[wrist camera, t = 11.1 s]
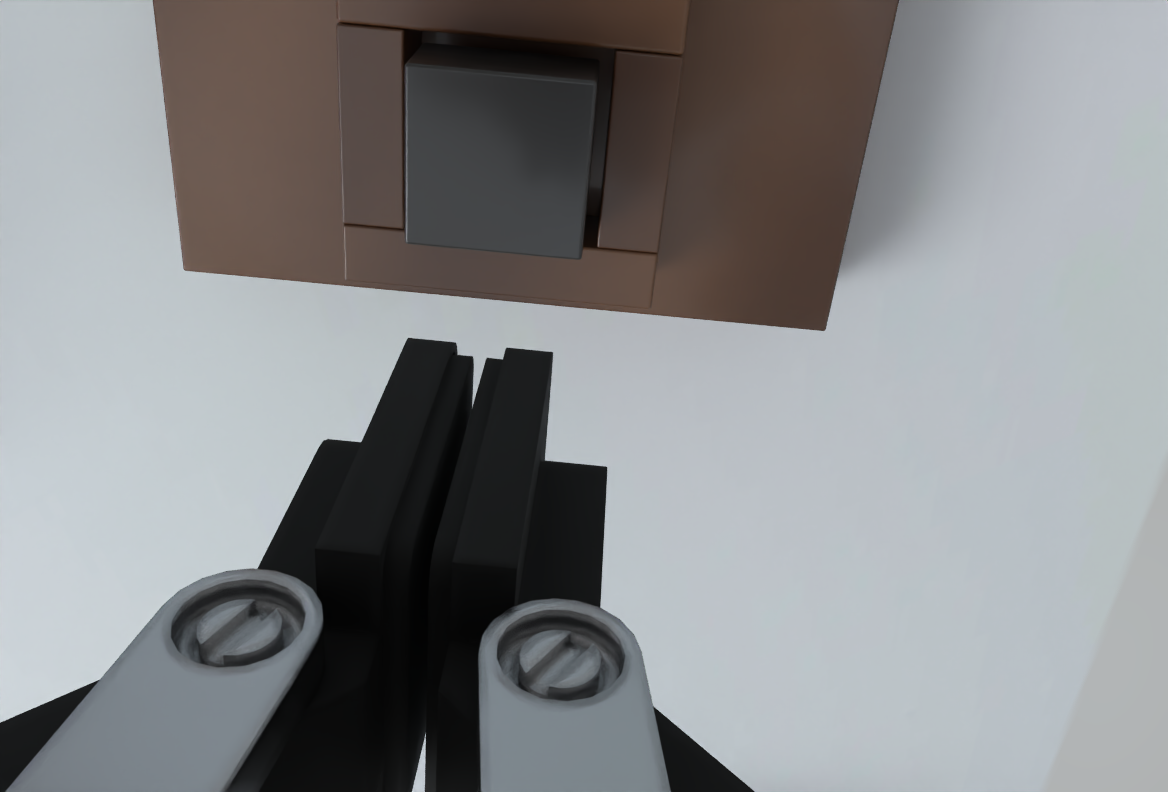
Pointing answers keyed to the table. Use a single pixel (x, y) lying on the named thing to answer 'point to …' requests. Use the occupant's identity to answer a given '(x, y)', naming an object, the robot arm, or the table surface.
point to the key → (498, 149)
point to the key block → (619, 155)
